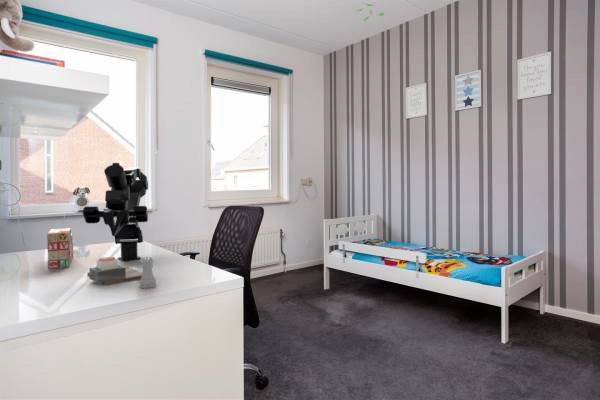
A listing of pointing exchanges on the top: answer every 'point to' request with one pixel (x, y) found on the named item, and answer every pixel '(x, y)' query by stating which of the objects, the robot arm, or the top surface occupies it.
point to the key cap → (107, 263)
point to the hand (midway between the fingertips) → (113, 235)
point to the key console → (114, 275)
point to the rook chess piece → (147, 274)
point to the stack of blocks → (60, 248)
